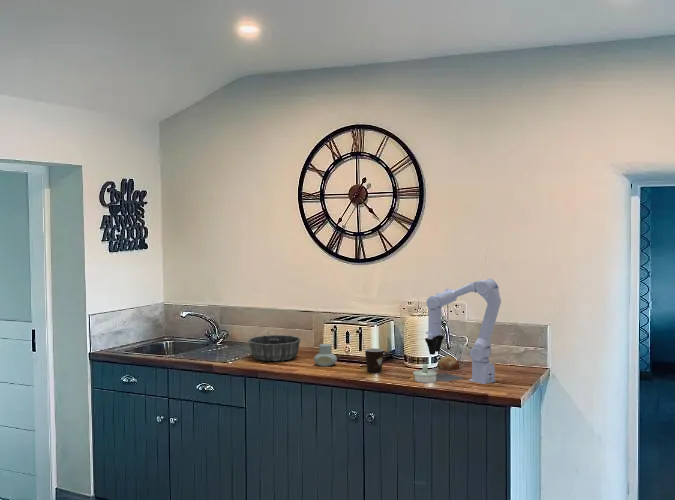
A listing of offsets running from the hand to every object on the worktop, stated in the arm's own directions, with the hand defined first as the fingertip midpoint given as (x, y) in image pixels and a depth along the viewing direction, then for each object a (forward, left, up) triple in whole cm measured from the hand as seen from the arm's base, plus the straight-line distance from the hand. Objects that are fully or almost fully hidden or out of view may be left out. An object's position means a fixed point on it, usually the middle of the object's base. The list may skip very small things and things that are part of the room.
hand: (434, 353), depth 319 cm
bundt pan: (+77, +37, -11) cm, 86 cm away
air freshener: (+48, +26, -10) cm, 56 cm away
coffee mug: (+22, +15, -10) cm, 29 cm away
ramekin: (-6, +11, -10) cm, 16 cm away
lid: (-6, +11, -7) cm, 15 cm away
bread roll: (+7, -15, -11) cm, 20 cm away
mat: (-7, 0, -10) cm, 12 cm away
